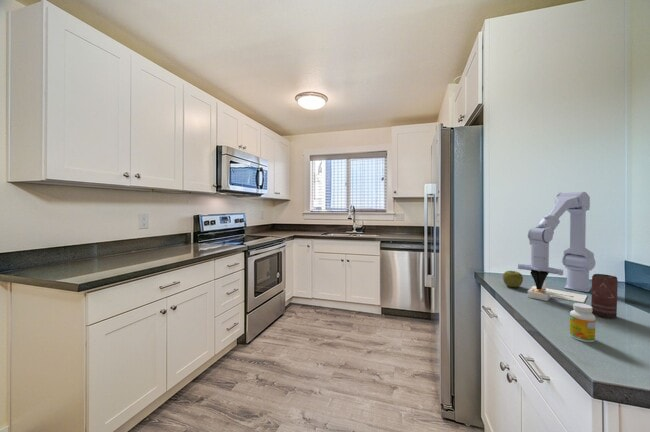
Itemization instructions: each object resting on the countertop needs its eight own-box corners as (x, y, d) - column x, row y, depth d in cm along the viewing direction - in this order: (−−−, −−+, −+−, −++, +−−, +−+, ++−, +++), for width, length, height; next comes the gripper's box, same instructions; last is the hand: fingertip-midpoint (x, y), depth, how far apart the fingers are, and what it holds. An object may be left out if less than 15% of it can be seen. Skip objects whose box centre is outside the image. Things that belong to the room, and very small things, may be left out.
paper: (533, 286, 124) (533, 285, 124) (587, 296, 110) (587, 295, 110) (526, 291, 117) (526, 291, 117) (583, 303, 103) (583, 302, 103)
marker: (537, 289, 119) (536, 271, 119) (546, 290, 116) (546, 272, 116) (535, 290, 117) (535, 272, 117) (545, 292, 114) (544, 274, 114)
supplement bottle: (564, 334, 80) (565, 302, 79) (580, 332, 80) (581, 301, 80) (583, 343, 74) (584, 309, 74) (600, 342, 75) (601, 308, 74)
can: (622, 319, 88) (624, 278, 87) (600, 318, 89) (601, 277, 89) (607, 312, 94) (608, 273, 93) (586, 311, 95) (587, 273, 95)
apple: (507, 289, 121) (507, 273, 121) (499, 283, 129) (499, 269, 128) (526, 289, 119) (526, 274, 119) (517, 284, 127) (517, 269, 127)
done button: (534, 293, 113) (534, 288, 113) (545, 296, 110) (545, 290, 110) (532, 295, 110) (532, 290, 110) (543, 298, 108) (543, 292, 107)
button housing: (531, 293, 115) (531, 287, 115) (550, 297, 110) (550, 291, 110) (527, 297, 111) (527, 291, 110) (547, 301, 106) (547, 294, 106)
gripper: (515, 255, 112) (515, 287, 113) (561, 260, 101) (560, 295, 102) (520, 253, 117) (520, 283, 117) (564, 257, 106) (563, 291, 106)
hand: (539, 288), depth 110 cm, fingers closed
